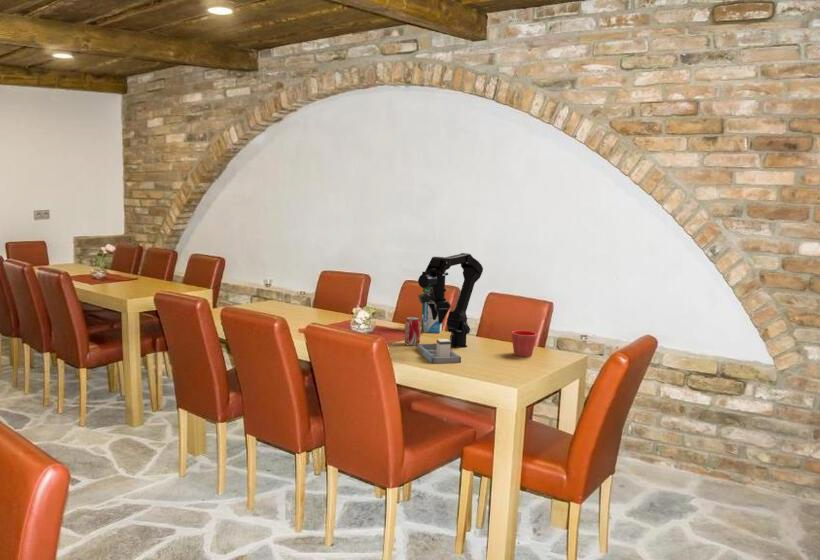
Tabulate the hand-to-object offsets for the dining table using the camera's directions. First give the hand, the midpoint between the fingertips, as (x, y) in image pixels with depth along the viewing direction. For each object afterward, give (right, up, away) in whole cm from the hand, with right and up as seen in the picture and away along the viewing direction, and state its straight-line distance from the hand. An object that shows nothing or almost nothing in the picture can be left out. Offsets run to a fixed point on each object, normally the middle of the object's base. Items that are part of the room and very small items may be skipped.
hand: (437, 321), depth 302 cm
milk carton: (-1, -8, +46) cm, 46 cm away
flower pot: (+37, -14, 0) cm, 40 cm away
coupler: (+2, -15, -12) cm, 19 cm away
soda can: (-11, -11, +14) cm, 21 cm away
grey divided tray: (0, -14, -6) cm, 15 cm away
